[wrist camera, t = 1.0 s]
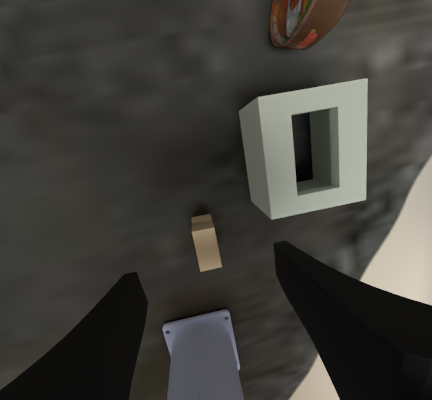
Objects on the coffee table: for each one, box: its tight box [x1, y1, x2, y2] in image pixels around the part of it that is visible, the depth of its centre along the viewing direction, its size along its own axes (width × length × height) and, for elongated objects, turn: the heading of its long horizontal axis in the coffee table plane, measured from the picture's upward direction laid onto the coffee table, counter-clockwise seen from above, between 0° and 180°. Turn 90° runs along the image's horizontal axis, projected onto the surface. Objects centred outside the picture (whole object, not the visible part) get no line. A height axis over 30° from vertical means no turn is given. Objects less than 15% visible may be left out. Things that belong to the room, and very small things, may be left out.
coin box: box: [239, 78, 368, 220], centre depth 19 cm, size 9×8×6 cm
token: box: [192, 214, 222, 272], centre depth 21 cm, size 4×2×4 cm, turn 10°
